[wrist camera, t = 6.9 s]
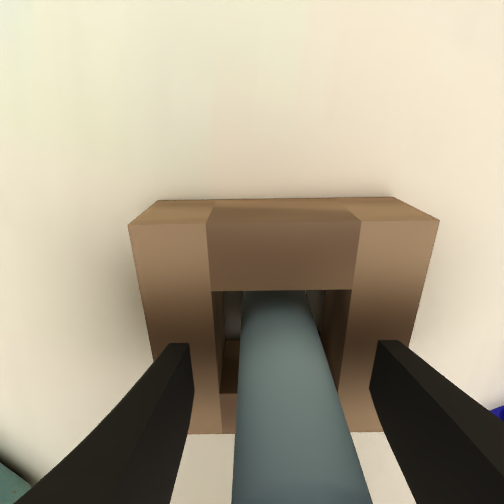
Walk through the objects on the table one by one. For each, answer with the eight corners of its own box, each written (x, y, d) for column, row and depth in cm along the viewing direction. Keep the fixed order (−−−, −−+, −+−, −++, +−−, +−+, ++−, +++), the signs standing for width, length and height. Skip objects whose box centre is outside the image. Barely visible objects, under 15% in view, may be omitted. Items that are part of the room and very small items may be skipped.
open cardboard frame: (361, 374, 15) (387, 431, 12) (183, 377, 15) (167, 434, 12) (393, 196, 11) (439, 220, 8) (157, 200, 11) (127, 224, 8)
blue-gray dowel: (302, 326, 14) (361, 562, 6) (241, 324, 14) (229, 560, 6) (309, 272, 12) (391, 483, 5) (243, 270, 12) (231, 479, 5)
